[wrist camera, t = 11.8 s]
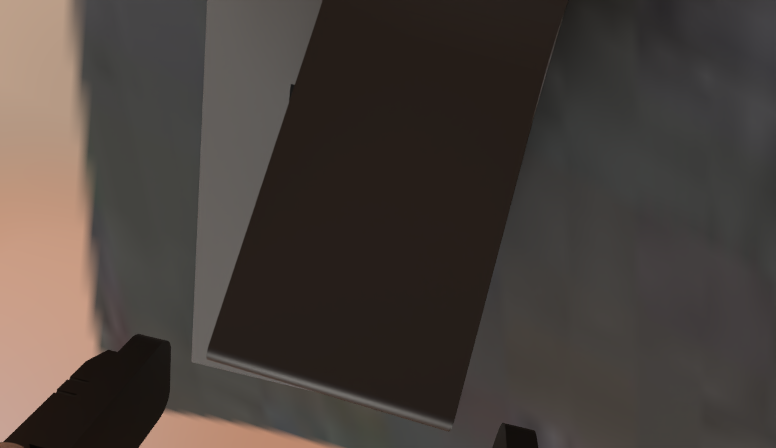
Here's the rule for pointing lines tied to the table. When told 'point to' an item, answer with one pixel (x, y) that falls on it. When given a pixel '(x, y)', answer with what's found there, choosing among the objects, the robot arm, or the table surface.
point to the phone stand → (388, 201)
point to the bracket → (241, 135)
